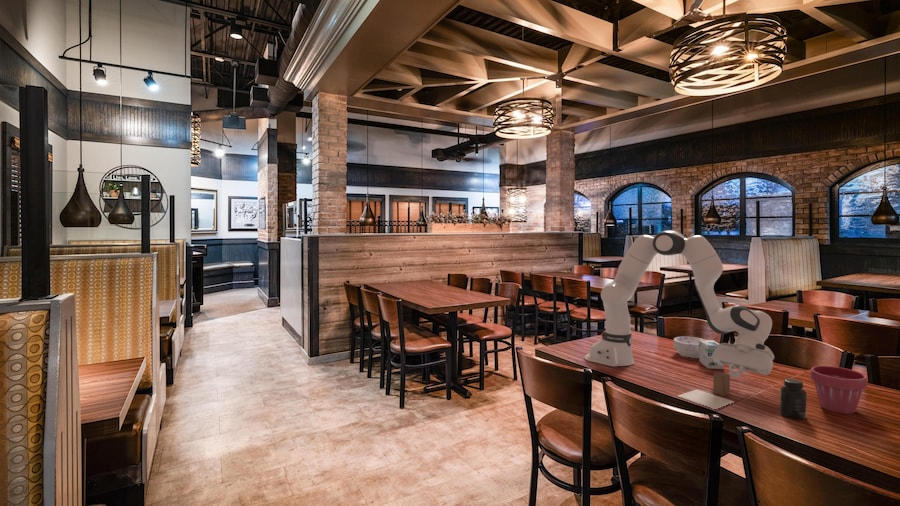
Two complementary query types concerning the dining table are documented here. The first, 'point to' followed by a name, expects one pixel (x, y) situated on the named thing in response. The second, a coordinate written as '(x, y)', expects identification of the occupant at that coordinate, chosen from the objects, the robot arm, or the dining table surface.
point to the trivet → (705, 399)
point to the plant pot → (838, 388)
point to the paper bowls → (687, 346)
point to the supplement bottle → (793, 399)
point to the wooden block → (721, 384)
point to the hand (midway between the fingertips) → (733, 376)
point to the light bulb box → (708, 354)
